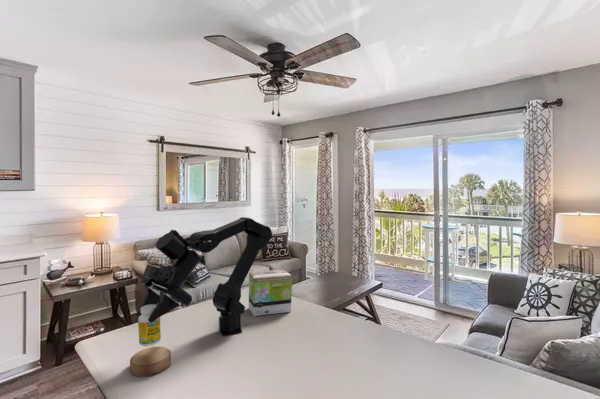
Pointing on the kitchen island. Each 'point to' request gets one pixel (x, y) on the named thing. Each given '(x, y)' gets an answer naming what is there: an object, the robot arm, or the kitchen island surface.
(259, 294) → the tea box
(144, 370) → the pedestal
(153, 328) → the supplement bottle
